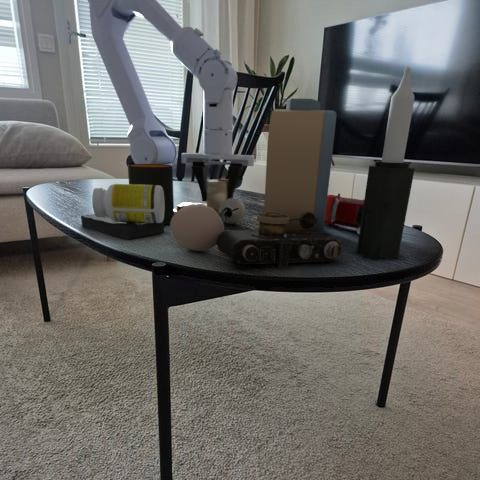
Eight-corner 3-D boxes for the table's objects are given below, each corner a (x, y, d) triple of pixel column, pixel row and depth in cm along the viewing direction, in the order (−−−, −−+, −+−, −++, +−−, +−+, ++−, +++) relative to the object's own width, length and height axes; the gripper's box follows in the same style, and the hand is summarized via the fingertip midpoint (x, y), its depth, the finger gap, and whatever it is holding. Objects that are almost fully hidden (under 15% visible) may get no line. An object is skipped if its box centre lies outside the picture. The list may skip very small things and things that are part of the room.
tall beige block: (321, 250, 66) (338, 95, 58) (262, 245, 68) (270, 94, 59) (324, 225, 85) (337, 106, 76) (277, 222, 87) (285, 105, 78)
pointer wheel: (203, 206, 86) (203, 179, 84) (208, 203, 91) (208, 177, 89) (226, 207, 86) (227, 180, 84) (230, 204, 90) (230, 178, 88)
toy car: (328, 192, 87) (312, 189, 84) (390, 200, 77) (375, 197, 74) (322, 224, 89) (306, 222, 86) (381, 235, 79) (366, 234, 76)
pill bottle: (164, 180, 71) (98, 178, 71) (159, 191, 66) (88, 188, 66) (165, 216, 75) (102, 213, 74) (161, 229, 70) (93, 226, 69)
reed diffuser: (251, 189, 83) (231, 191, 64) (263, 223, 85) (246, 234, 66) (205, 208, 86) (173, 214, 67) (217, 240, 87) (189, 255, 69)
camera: (321, 210, 64) (351, 218, 57) (316, 253, 66) (343, 266, 59) (217, 209, 58) (236, 218, 51) (216, 256, 61) (233, 270, 54)
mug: (185, 215, 90) (183, 163, 85) (165, 226, 79) (163, 167, 75) (148, 213, 91) (145, 162, 87) (124, 223, 80) (119, 165, 76)
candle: (353, 251, 66) (379, 68, 56) (381, 250, 68) (411, 71, 58) (372, 260, 62) (404, 62, 52) (401, 258, 63) (437, 66, 53)
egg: (199, 256, 58) (159, 248, 65) (234, 252, 63) (193, 245, 70) (199, 205, 56) (157, 202, 63) (235, 205, 61) (193, 202, 68)
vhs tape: (165, 232, 74) (164, 220, 73) (127, 239, 69) (126, 227, 68) (119, 221, 83) (118, 210, 82) (82, 226, 77) (80, 215, 76)
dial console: (175, 219, 86) (174, 206, 85) (185, 212, 94) (185, 200, 93) (235, 222, 85) (235, 209, 84) (240, 215, 93) (241, 203, 92)
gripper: (176, 128, 80) (178, 202, 85) (252, 131, 78) (249, 205, 84) (185, 129, 86) (186, 197, 92) (256, 131, 85) (253, 201, 90)
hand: (217, 201), depth 88 cm, fingers closed on pointer wheel, 5 cm apart
